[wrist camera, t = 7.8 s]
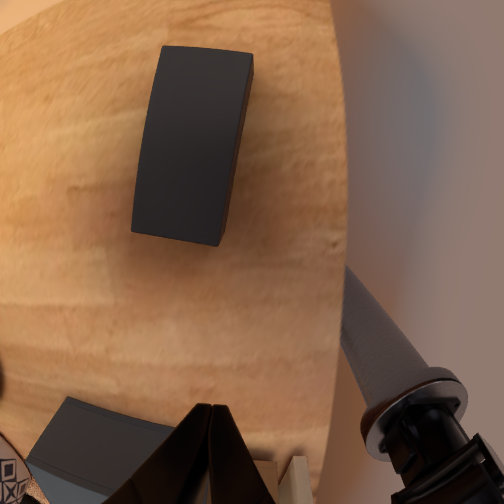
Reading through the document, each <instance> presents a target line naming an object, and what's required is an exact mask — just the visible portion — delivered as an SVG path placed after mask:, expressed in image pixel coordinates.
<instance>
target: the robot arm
mask: <svg viewBox="0 0 504 504" xmlns="http://www.w3.org/2000/svg"><path fill="white" fill-rule="evenodd" d="M460 405H461V401H460V400H459V399H445V400H430V401H411V402H408V403H407V404H406V405H405V406H404V408H403V410H402V411H401V413H400V415H399V417H398V418H397V420H396V422H395V423H394V425H393V427H392V428H391V430H390V431H389V433H388V435H387V436H386V438H385V439H384V441H383V443H382V444H381V446H380V447H379V451H380V453H381V454H384V453H388V455H389V457H390V460H391V462H392V465H393V467H394V470H395V472H396V473H397V474H400V475H401V478H402V480H403V483H404V486H405V488H404V489H403V490H401V491H399V492H396V493H394V494H393V495H391V504H504V466H503V464H502V462H501V460H500V459H499V457H498V456H497V454H496V453H495V451H494V450H493V449H492V447H491V446H490V445H489V444H488V443H487V442H486V441H485V439H484V438H482V436H481V435H480V434H479V433H477V434H476V435H474V436H473V439H471V440H470V439H469V438H468V436H467V434H466V433H465V431H464V430H463V428H462V427H461V425H460V424H459V422H458V421H457V419H456V418H455V416H454V414H455V413H456V411H457V410H458V408H459V406H460ZM483 459H485V460H484V461H483V462H482V463H480V462H481V461H482V460H483ZM208 476H209V478H210V492H211V504H276V503H275V501H274V499H273V498H272V496H271V494H270V492H268V488H267V487H266V485H265V483H264V481H263V479H262V477H261V475H260V473H259V471H258V469H257V467H256V465H255V463H254V461H253V459H252V457H251V455H250V453H249V451H248V449H247V447H246V445H245V442H244V440H243V438H242V436H241V434H240V432H239V430H238V428H237V425H236V423H235V421H234V419H233V417H232V415H231V412H230V410H229V408H228V406H227V405H220V404H214V405H213V406H212V405H211V404H207V403H197V404H196V405H195V406H194V407H193V408H192V410H191V411H190V412H189V413H188V414H187V415H186V416H185V417H184V419H183V420H182V421H181V422H180V423H179V424H178V425H177V426H176V428H175V429H174V430H173V431H172V432H171V433H170V434H169V435H168V436H167V438H166V439H165V440H164V441H163V442H162V443H161V444H160V445H159V446H158V447H157V448H156V450H155V451H154V452H153V453H152V454H151V455H150V456H149V457H148V458H147V459H146V460H145V461H144V462H143V464H142V465H141V466H140V467H139V468H138V469H137V470H136V471H135V472H134V473H133V474H132V475H131V478H128V479H127V480H126V481H125V482H124V483H123V484H122V485H121V486H120V487H119V488H118V489H117V490H116V491H115V492H114V493H113V494H112V495H111V496H110V497H109V498H107V499H106V500H105V501H104V502H102V503H101V504H202V503H203V498H204V494H205V490H206V485H207V481H208Z"/></svg>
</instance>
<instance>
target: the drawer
mask: <svg viewBox="0 0 504 504" xmlns="http://www.w3.org/2000/svg"><path fill="white" fill-rule="evenodd" d="M253 461H254V463H255V465H256V467H257V469H258V471H259V473H260V475H261V477H262V479H263V481H264V483H265V485H266V487H267V488H268V492H270V494H271V496H272V498H273V499H274V501H275V503H276V504H314V503H313V496H312V489H311V482H310V476H309V469H308V463H307V457H306V456H293V458H292V460H291V462H290V465H289V467H288V469H287V471H286V473H285V475H284V477H283V479H282V481H281V483H280V485H279V487H278V477H277V462H271V461H259V460H253ZM206 504H211V492H210V478H209V486H208V493H207V501H206Z"/></svg>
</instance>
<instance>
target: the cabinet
mask: <svg viewBox="0 0 504 504" xmlns="http://www.w3.org/2000/svg"><path fill="white" fill-rule="evenodd" d="M174 429H175V428H173V427H168V426H164V425H159V424H155V423H151V422H147V421H143V420H139V419H136V418H132V417H128V416H125V415H121V414H118V413H115V412H111V411H108V410H105V409H102V408H99V407H96V406H93V405H90V404H87V403H84V402H81V401H78V400H76V399H73V398H70V397H67V398H66V399H65V401H64V402H63V404H62V405H61V406H60V408H59V409H58V411H57V412H56V414H55V415H54V417H53V418H52V420H51V421H50V423H49V424H48V426H47V427H46V429H45V430H44V432H43V433H42V435H41V436H40V438H39V439H38V441H37V442H36V444H35V445H34V447H33V448H32V450H31V452H30V453H29V455H28V457H27V458H26V460H25V463H26V464H27V466H28V468H29V470H30V472H31V473H32V475H33V477H34V479H35V480H36V482H37V484H38V485H39V487H40V489H41V490H42V492H43V493H44V495H45V497H46V498H47V500H48V501H49V503H50V504H101V503H102V502H104V501H105V500H106V499H107V498H109V497H110V496H111V495H112V494H113V493H114V492H115V491H116V490H117V489H118V488H119V487H120V486H121V485H122V484H123V483H124V482H125V481H126V480H127V479H128V478H131V475H132V474H133V473H134V472H135V471H136V470H137V469H138V468H139V467H140V466H141V465H142V464H143V462H144V461H145V460H146V459H147V458H148V457H149V456H150V455H151V454H152V453H153V452H154V451H155V450H156V448H157V447H158V446H159V445H160V444H161V443H162V442H163V441H164V440H165V439H166V438H167V436H168V435H169V434H170V433H171V432H172V431H173V430H174ZM208 486H209V476H208V481H207V485H206V490H205V494H204V498H203V503H202V504H206V501H207V493H208Z"/></svg>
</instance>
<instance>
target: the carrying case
mask: <svg viewBox="0 0 504 504" xmlns="http://www.w3.org/2000/svg"><path fill="white" fill-rule="evenodd" d="M19 504H37V502H36V501H34V500H33V499H32V498H30V497H28V496H26V495H24V496H23V498H22V500H21V502H20V503H19Z"/></svg>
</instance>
